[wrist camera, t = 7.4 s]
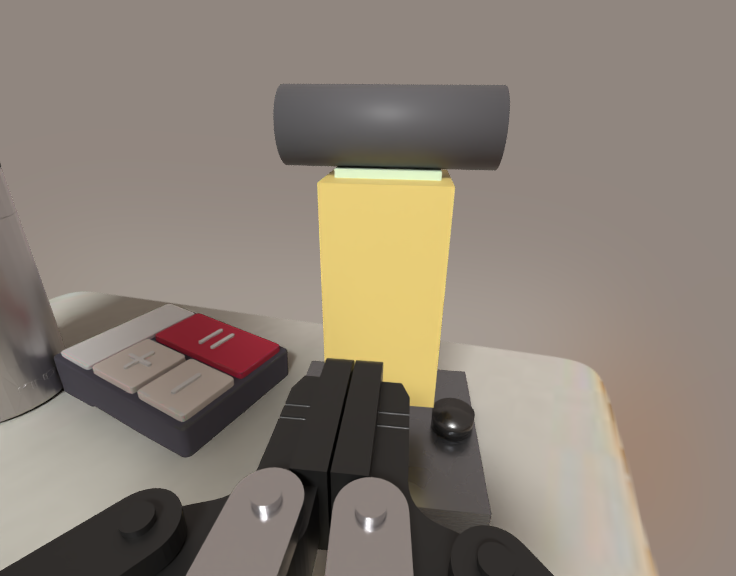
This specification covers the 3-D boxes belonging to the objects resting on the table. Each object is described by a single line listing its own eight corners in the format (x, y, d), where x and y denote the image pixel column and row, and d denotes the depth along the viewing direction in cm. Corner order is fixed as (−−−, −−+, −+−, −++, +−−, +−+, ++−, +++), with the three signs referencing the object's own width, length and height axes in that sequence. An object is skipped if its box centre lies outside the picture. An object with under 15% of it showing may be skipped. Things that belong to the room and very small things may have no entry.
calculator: (180, 422, 26) (47, 348, 32) (189, 470, 28) (62, 391, 34) (289, 341, 34) (169, 295, 41) (290, 382, 36) (175, 332, 42)
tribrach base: (264, 528, 23) (256, 474, 21) (313, 391, 34) (311, 347, 32) (483, 553, 22) (494, 498, 20) (460, 402, 32) (466, 358, 31)
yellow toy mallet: (294, 423, 24) (264, 81, 16) (313, 372, 28) (297, 86, 21) (466, 438, 23) (518, 82, 15) (458, 383, 27) (495, 87, 20)
